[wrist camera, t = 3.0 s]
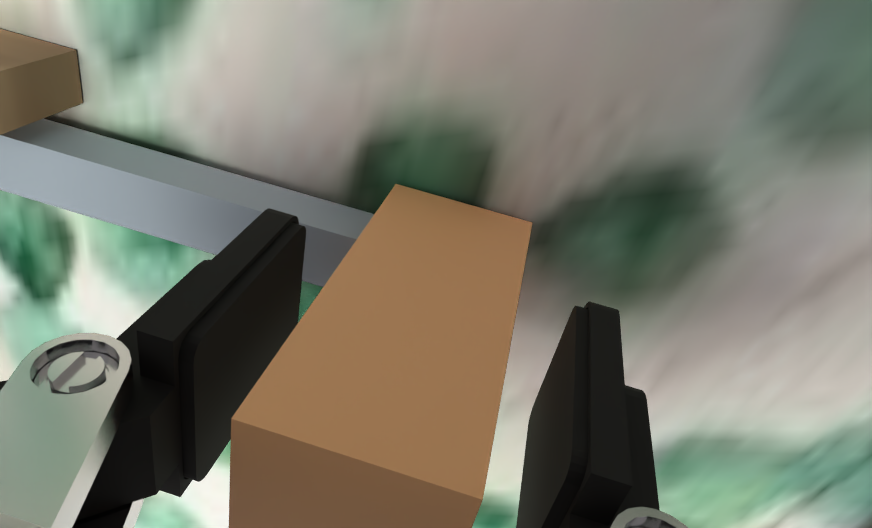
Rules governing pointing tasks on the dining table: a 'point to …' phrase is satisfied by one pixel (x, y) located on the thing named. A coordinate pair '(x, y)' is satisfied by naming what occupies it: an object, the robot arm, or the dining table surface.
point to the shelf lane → (35, 80)
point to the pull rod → (330, 330)
